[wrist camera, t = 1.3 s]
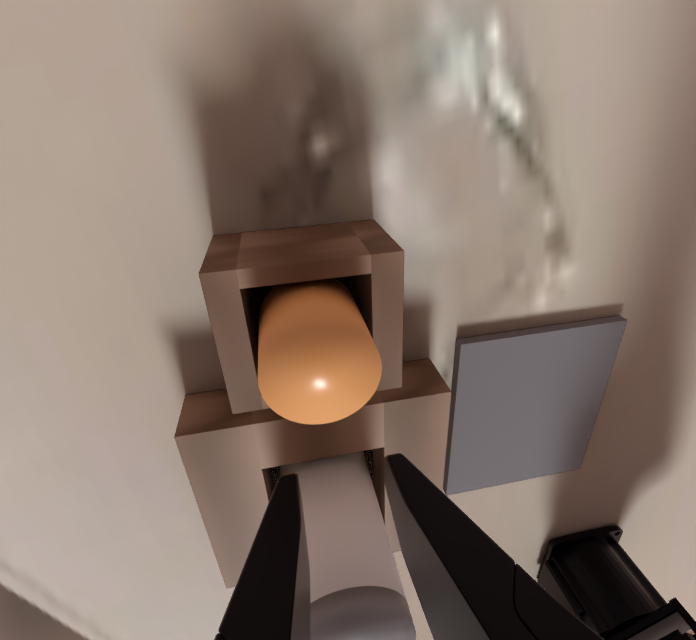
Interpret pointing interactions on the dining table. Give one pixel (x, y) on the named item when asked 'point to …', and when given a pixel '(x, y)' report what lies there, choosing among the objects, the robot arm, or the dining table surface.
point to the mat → (526, 401)
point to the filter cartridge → (349, 554)
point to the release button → (315, 352)
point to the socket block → (280, 433)
